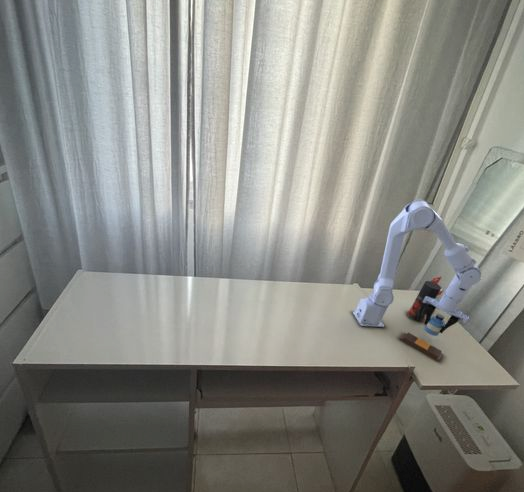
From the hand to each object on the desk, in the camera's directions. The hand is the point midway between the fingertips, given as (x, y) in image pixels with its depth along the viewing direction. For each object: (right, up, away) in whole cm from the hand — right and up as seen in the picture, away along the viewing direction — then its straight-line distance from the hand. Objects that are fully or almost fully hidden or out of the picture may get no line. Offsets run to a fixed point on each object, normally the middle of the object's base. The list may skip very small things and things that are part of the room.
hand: (433, 327), depth 113 cm
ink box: (+7, +6, +20) cm, 22 cm away
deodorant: (0, +3, +14) cm, 14 cm away
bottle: (0, -1, +1) cm, 2 cm away
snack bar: (-6, -7, -3) cm, 9 cm away
